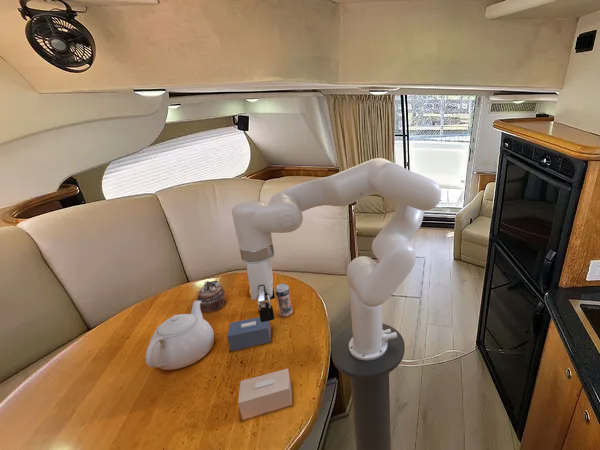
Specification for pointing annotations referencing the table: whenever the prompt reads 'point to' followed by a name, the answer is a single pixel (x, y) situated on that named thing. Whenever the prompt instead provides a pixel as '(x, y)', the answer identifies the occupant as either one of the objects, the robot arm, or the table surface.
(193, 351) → the teapot
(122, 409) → the table surface
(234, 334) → the back tissue box
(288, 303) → the beer can
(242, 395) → the front tissue box
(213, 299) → the cupcake
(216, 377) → the table surface
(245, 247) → the robot arm
